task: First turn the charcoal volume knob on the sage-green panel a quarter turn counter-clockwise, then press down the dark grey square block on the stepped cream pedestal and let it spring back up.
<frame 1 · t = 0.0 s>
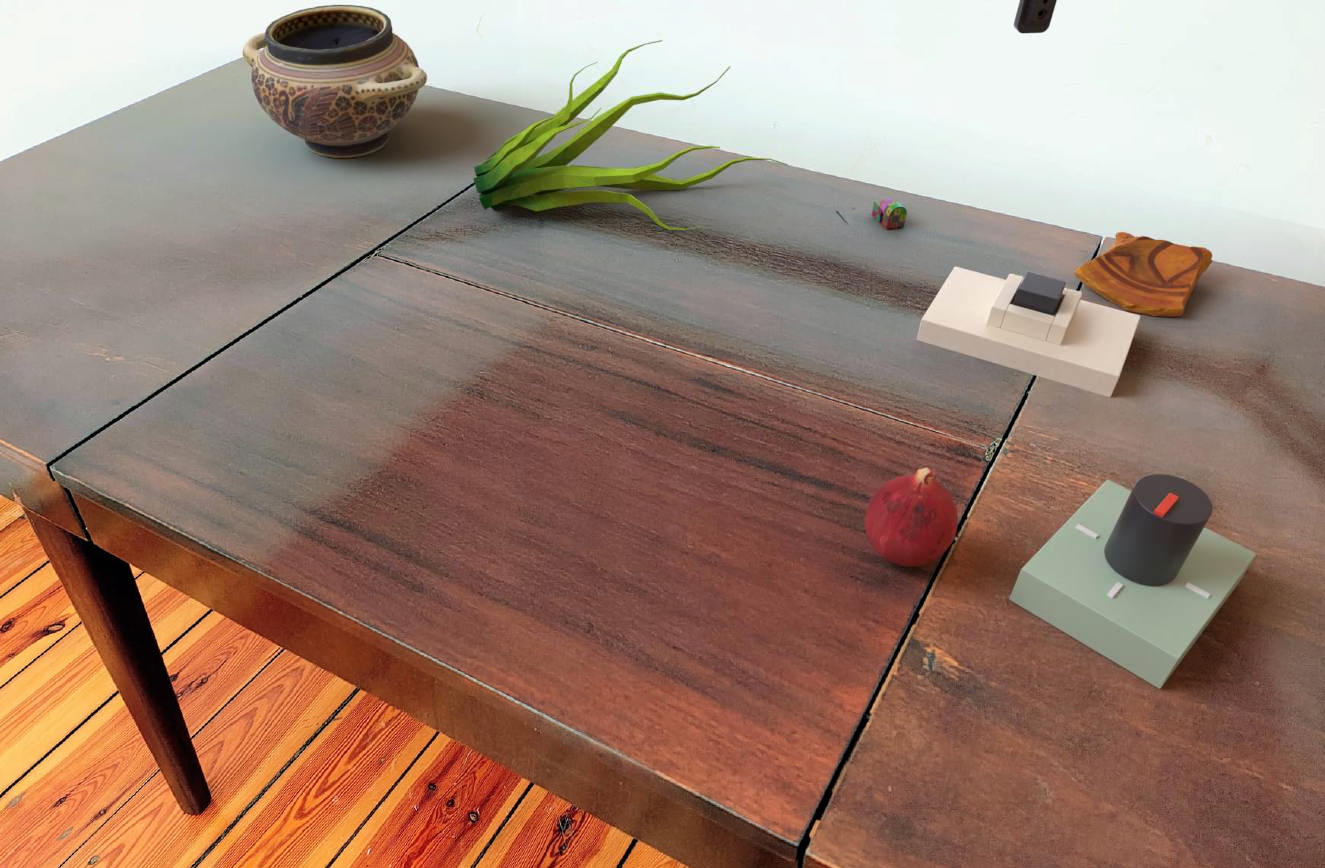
hand: (1006, 10, 73), 26 cm above the table, tool pointing down, fingers open, 8 cm apart
decorative plant: (627, 199, 108), on the table
pomegranate: (898, 561, 70), on the table
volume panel: (1123, 592, 68), on the table
multicoloured toy piece: (886, 223, 104), on the table
dark grey square block: (1039, 294, 86), point 4 cm above the table, slide at 0.1 cm
volume knob: (1157, 528, 64), point 6 cm above the table, hinge at 0.0°
ceramic bowl: (348, 143, 118), on the table
pottery fragment: (1134, 288, 95), on the table
stepped cream pedestal: (1024, 338, 89), on the table
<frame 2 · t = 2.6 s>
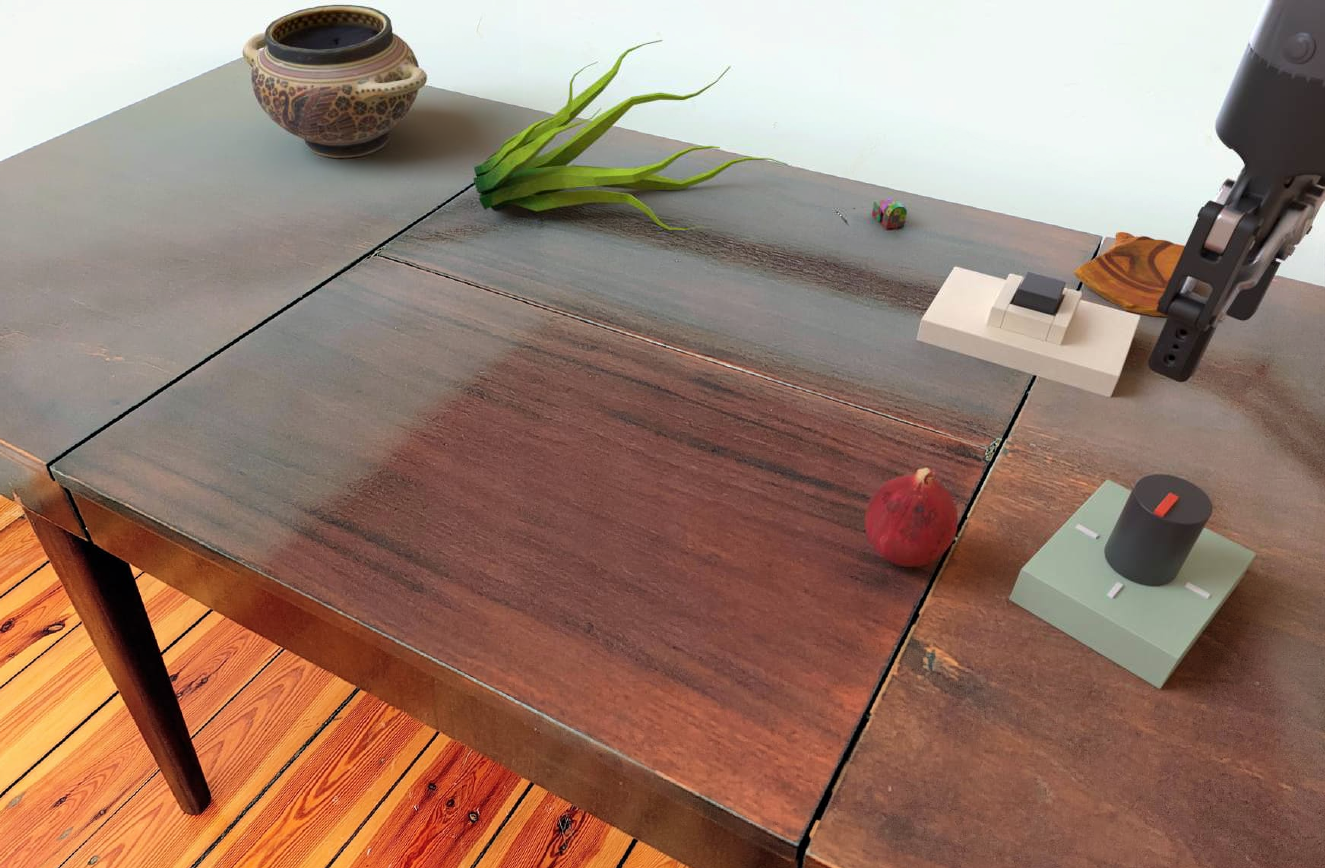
hand: (1200, 342, 58), 18 cm above the table, tool pointing down, fingers open, 8 cm apart
nothing on the table moved.
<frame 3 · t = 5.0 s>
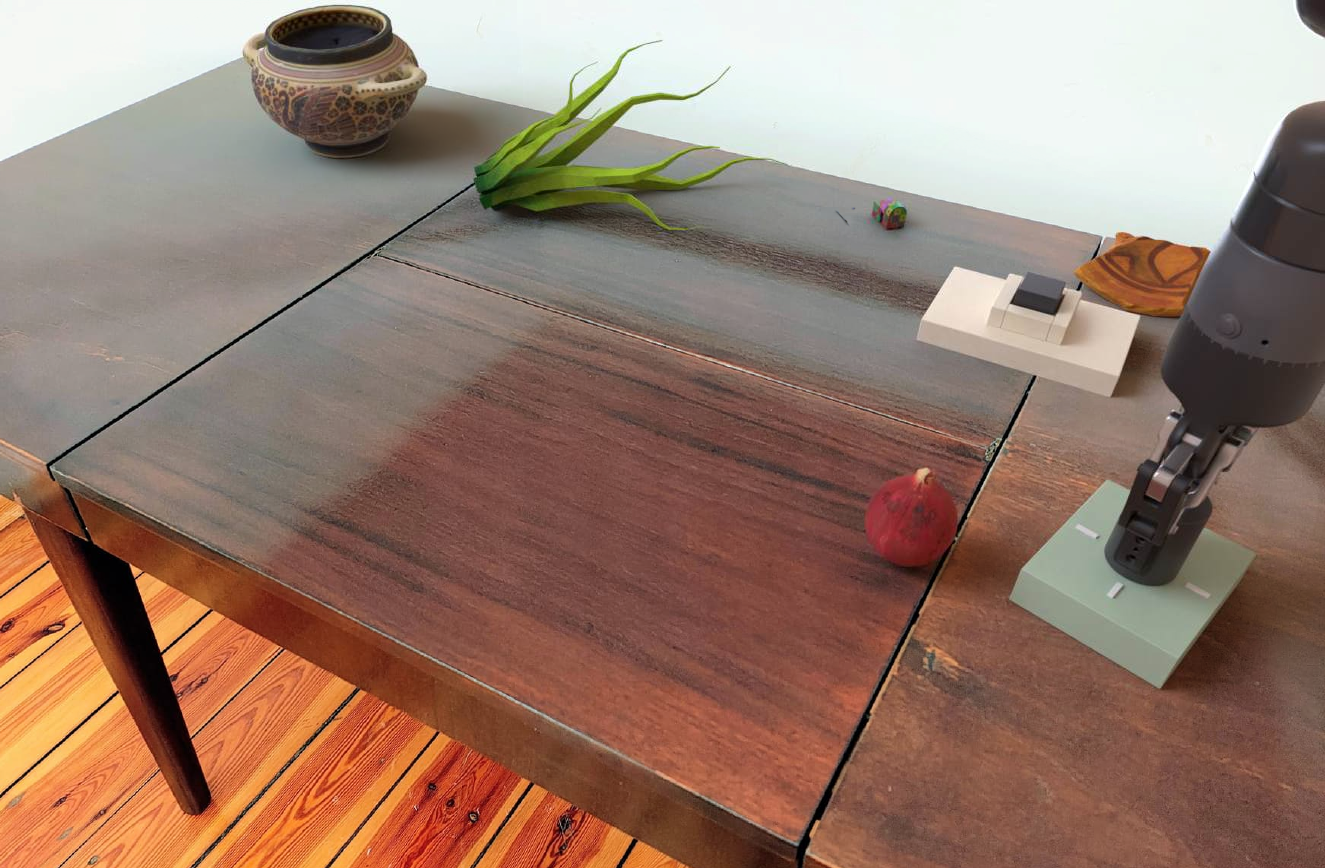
hand: (1149, 544, 65), 5 cm above the table, tool pointing down, fingers closed on volume knob, 4 cm apart
volume knob: (1157, 528, 64), point 6 cm above the table, hinge at 0.0°, touching gripper
everything else where it was.
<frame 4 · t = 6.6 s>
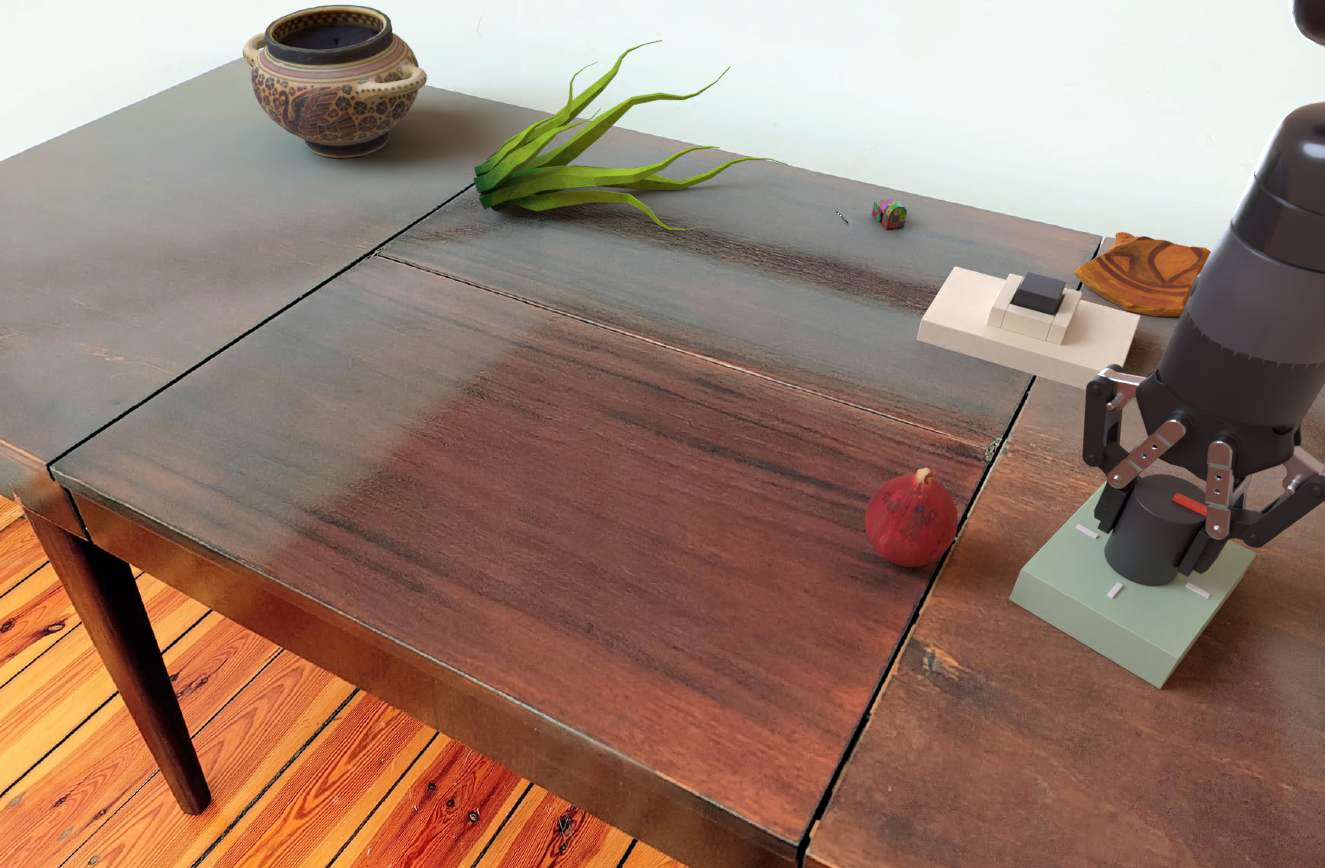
hand: (1147, 544, 65), 5 cm above the table, tool pointing down, fingers closed on volume knob, 4 cm apart
volume knob: (1157, 528, 64), point 6 cm above the table, hinge at 91.5°, touching gripper
everything else where it was.
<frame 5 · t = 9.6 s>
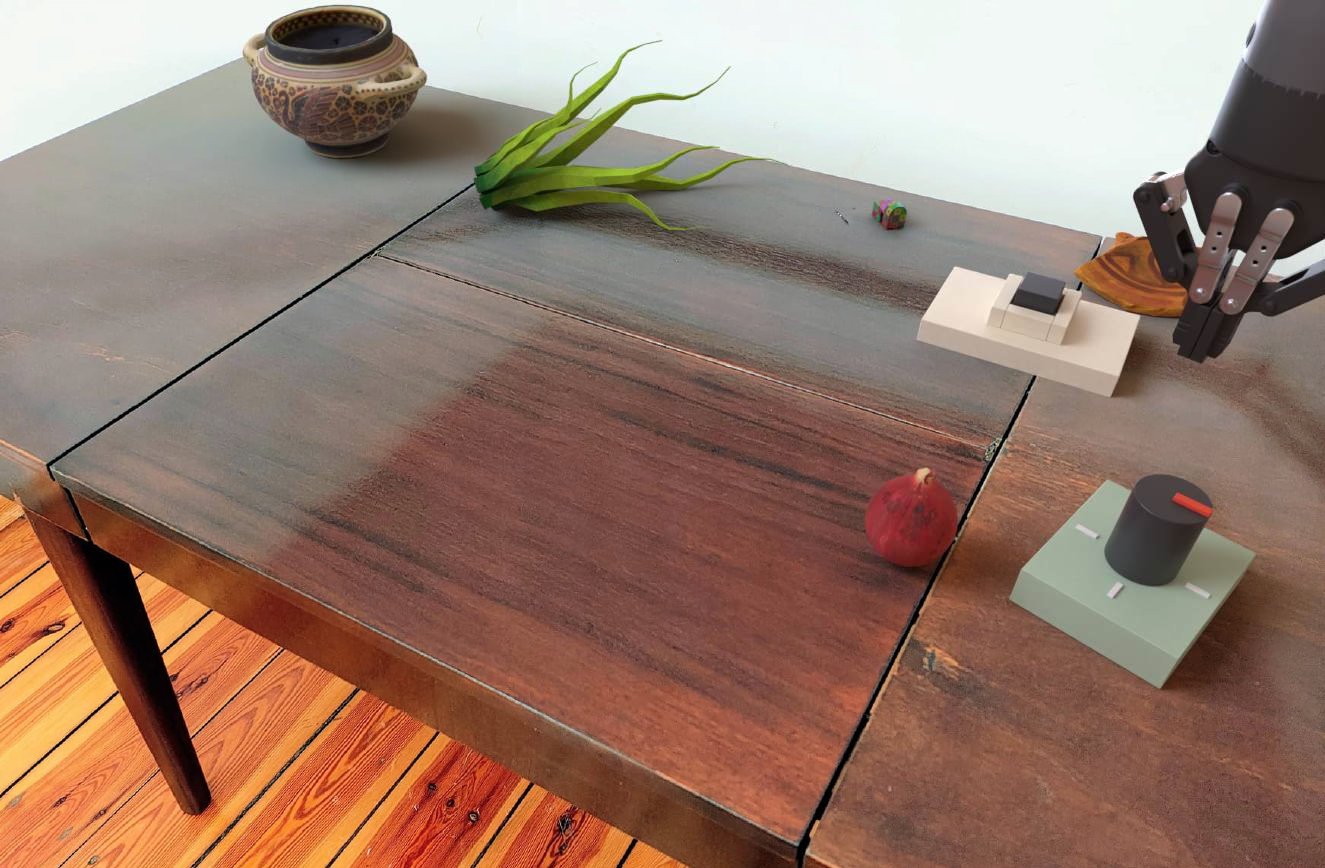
hand: (1193, 353, 62), 15 cm above the table, tool pointing down, fingers closed
volume knob: (1157, 528, 64), point 6 cm above the table, hinge at 91.4°
everything else where it was.
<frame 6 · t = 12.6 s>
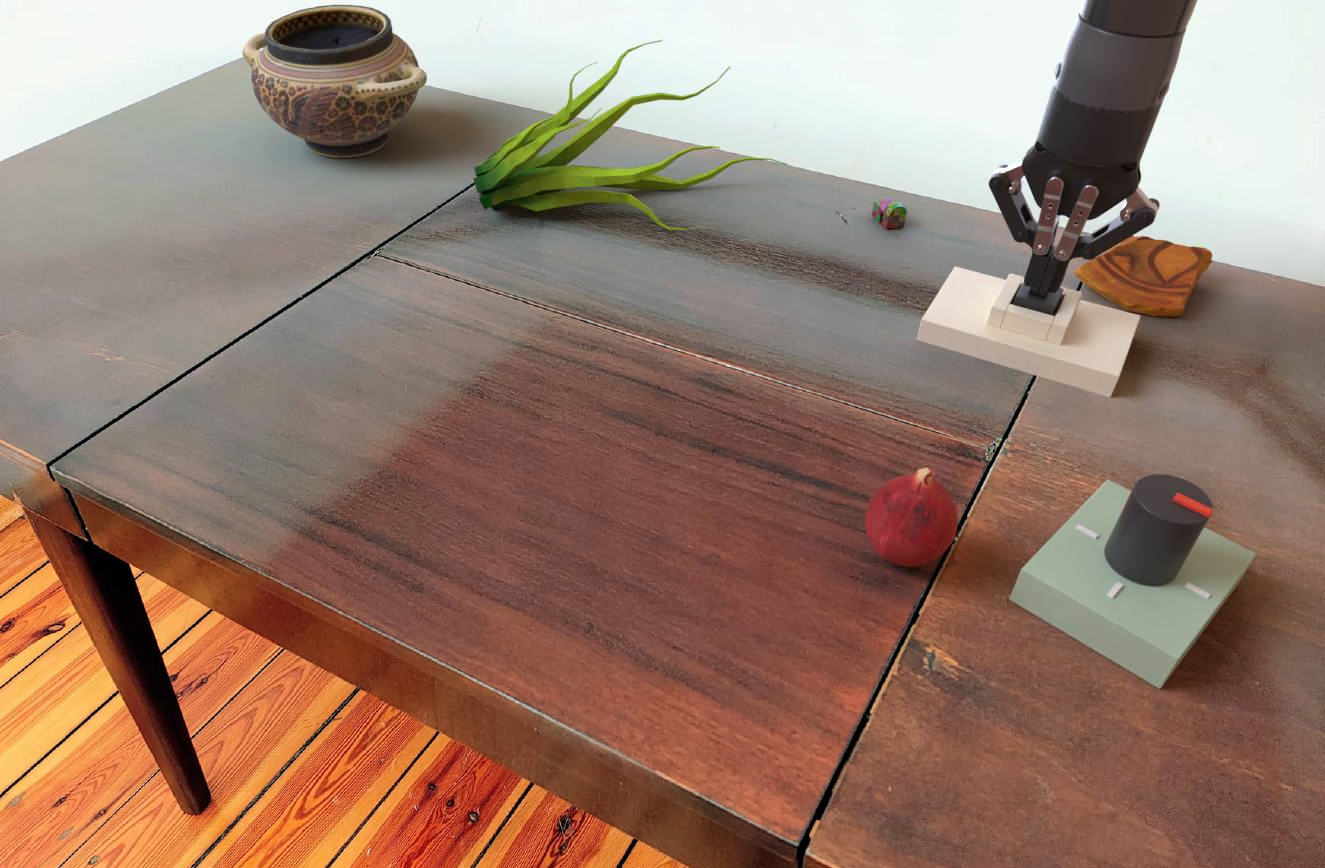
hand: (1039, 291, 86), 5 cm above the table, tool pointing down, fingers closed
dark grey square block: (1037, 301, 86), point 4 cm above the table, slide at -0.6 cm, touching gripper
everything else where it was.
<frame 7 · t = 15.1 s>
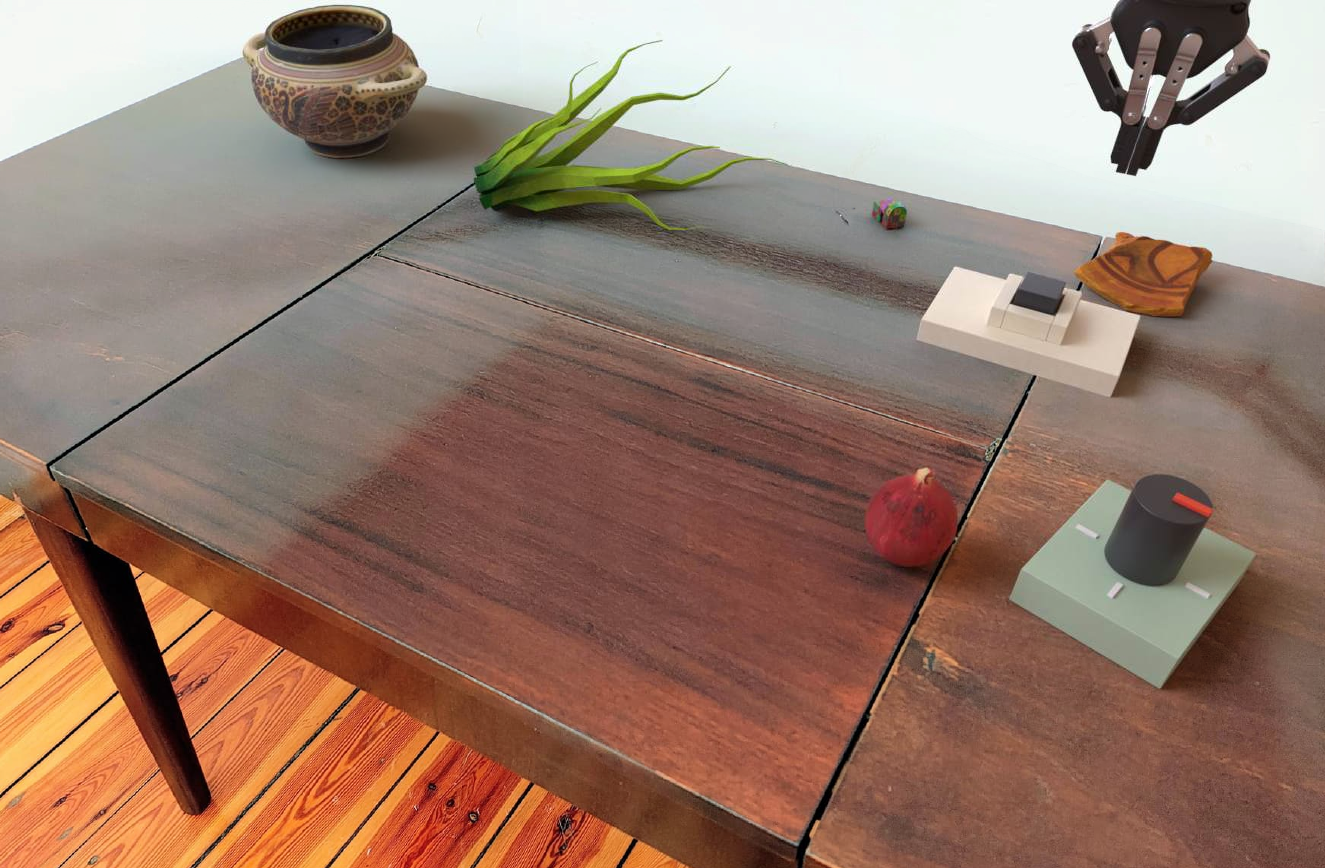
hand: (1127, 170, 77), 16 cm above the table, tool pointing down, fingers closed
dark grey square block: (1039, 294, 86), point 4 cm above the table, slide at 0.1 cm
everything else where it was.
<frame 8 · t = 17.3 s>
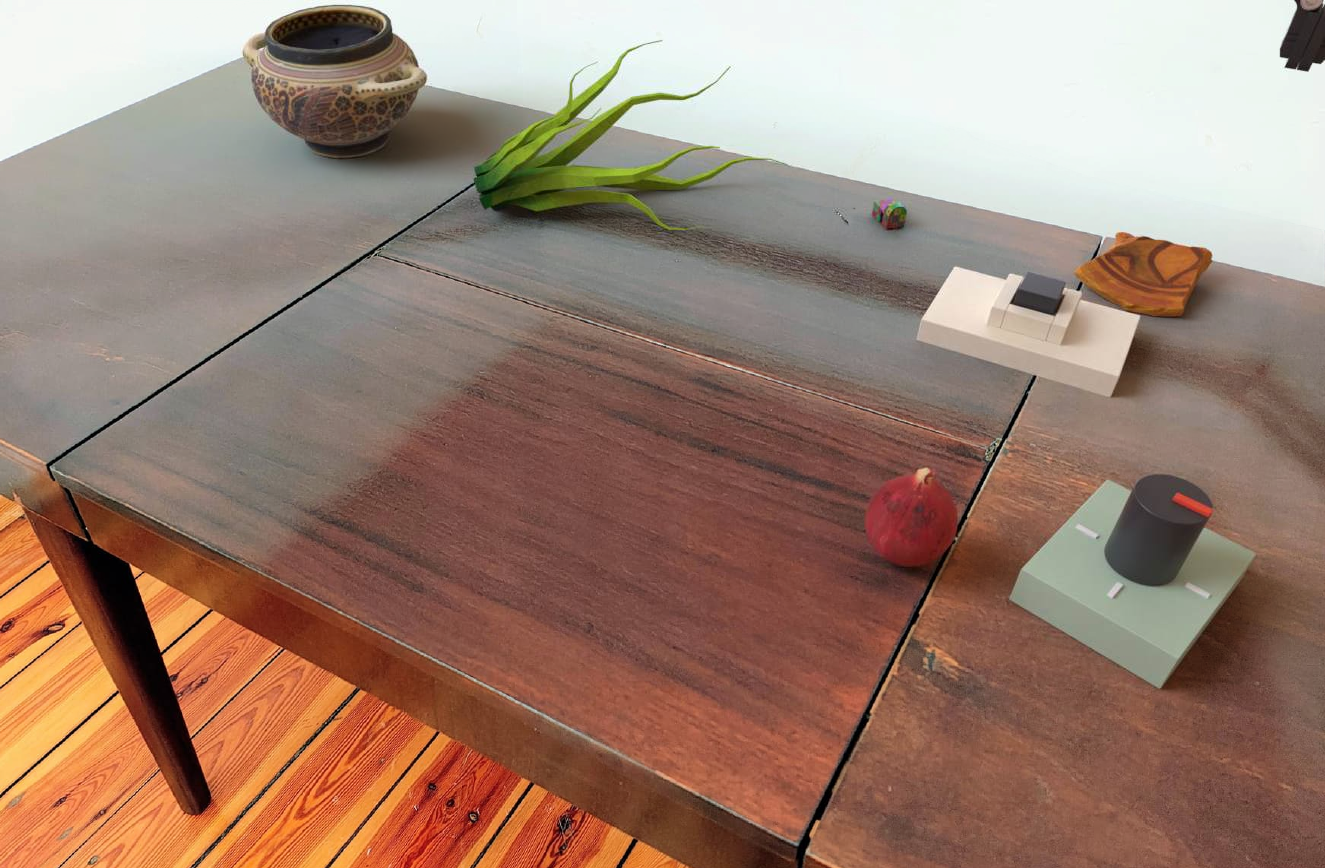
hand: (1296, 65, 69), 25 cm above the table, tool pointing down, fingers closed
nothing on the table moved.
at the end: volume knob at +91° (first picture: +0°); dark grey square block pushed in 1.1 cm at the most during the clip, back to where it started at the end; dark grey square block slide at 0.1 cm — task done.
